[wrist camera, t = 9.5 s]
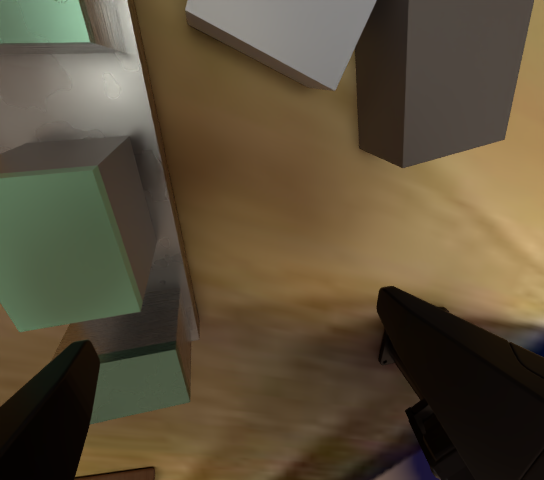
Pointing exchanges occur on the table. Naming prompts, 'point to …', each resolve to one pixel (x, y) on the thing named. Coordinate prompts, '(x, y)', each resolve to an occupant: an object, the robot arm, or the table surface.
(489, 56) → the loose grey block
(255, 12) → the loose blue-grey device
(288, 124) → the table surface
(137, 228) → the block
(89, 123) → the rail
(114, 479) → the wooden block
